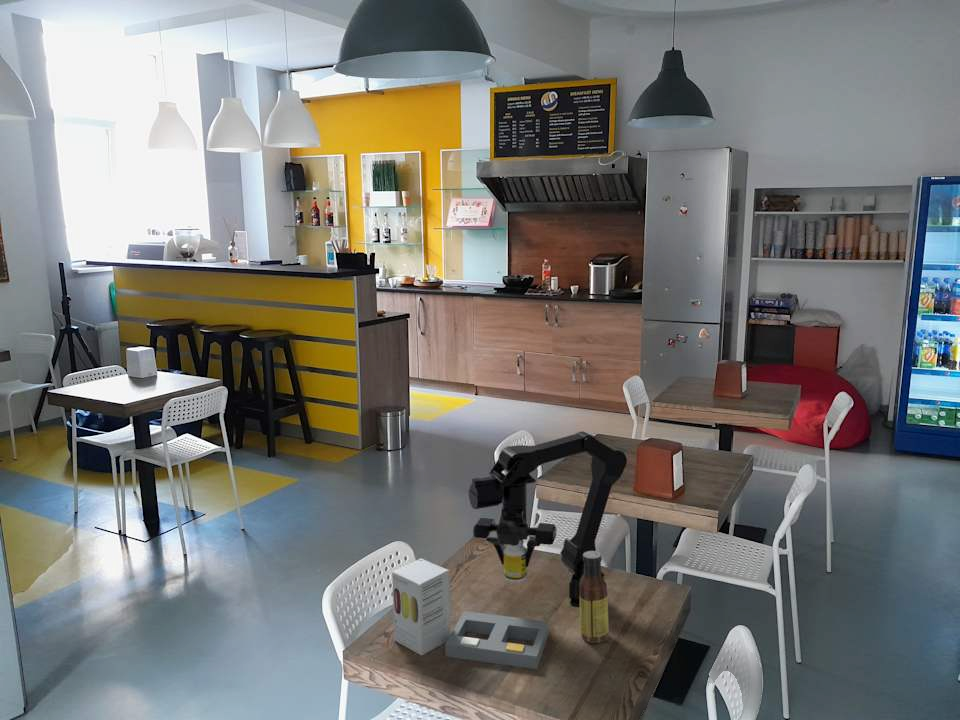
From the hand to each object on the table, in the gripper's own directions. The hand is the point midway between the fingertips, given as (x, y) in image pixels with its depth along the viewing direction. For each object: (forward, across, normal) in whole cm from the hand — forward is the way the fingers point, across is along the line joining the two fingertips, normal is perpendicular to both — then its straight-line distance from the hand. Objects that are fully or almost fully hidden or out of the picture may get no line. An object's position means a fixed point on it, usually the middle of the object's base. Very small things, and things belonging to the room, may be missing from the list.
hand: (515, 565), depth 172 cm
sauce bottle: (+13, +19, -5) cm, 24 cm away
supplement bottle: (+3, 0, 0) cm, 3 cm away
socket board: (+13, -1, -13) cm, 18 cm away
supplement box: (+13, -18, -15) cm, 27 cm away
